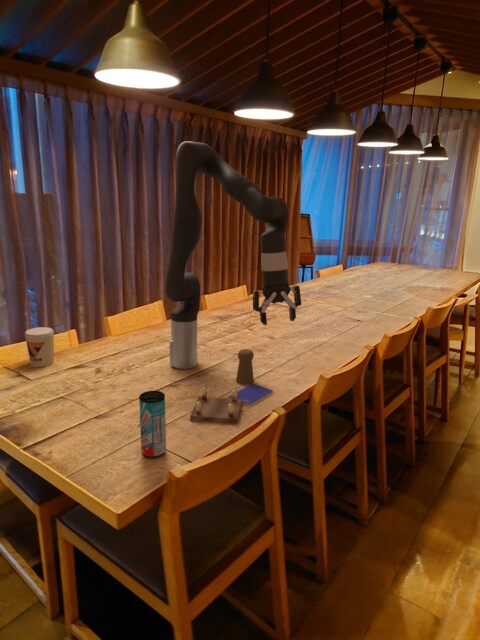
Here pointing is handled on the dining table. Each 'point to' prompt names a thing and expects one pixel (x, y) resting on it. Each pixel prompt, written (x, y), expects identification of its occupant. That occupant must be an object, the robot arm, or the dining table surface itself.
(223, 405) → the walnut stand
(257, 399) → the hard drive
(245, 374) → the cork
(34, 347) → the coffee cup
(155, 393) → the beverage can
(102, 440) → the dining table surface
